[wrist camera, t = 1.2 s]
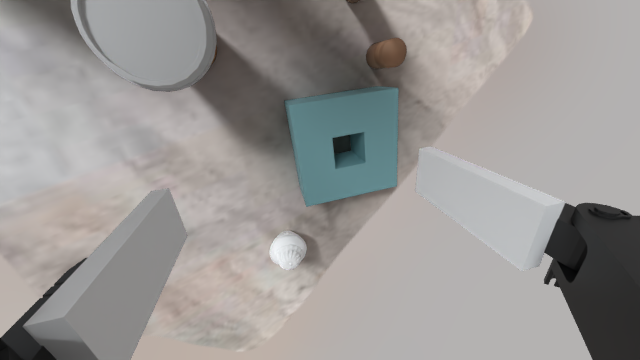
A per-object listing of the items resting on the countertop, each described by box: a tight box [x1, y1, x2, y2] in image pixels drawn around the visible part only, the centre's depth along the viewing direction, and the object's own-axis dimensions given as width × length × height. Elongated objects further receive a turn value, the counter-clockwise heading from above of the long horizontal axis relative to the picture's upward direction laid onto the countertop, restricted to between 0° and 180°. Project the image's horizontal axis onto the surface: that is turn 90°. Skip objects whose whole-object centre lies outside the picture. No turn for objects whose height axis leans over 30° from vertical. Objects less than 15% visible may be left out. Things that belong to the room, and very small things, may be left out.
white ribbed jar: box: [270, 230, 307, 270], centre depth 39 cm, size 6×6×7 cm
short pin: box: [366, 38, 406, 69], centre depth 31 cm, size 3×3×5 cm
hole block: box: [285, 86, 398, 207], centre depth 34 cm, size 14×14×6 cm
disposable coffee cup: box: [70, 0, 217, 92], centre depth 23 cm, size 10×10×12 cm
